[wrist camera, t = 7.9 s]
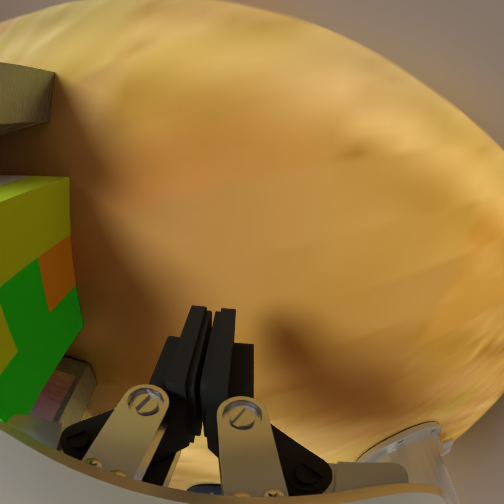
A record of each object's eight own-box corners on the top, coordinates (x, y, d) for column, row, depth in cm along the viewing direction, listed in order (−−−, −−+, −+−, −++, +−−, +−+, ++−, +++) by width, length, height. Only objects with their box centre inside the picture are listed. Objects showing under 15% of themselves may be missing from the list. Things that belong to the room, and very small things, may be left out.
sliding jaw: (88, 363, 17) (48, 444, 9) (125, 437, 22) (109, 497, 14) (15, 340, 16) (-28, 397, 9) (60, 416, 21) (38, 466, 14)
